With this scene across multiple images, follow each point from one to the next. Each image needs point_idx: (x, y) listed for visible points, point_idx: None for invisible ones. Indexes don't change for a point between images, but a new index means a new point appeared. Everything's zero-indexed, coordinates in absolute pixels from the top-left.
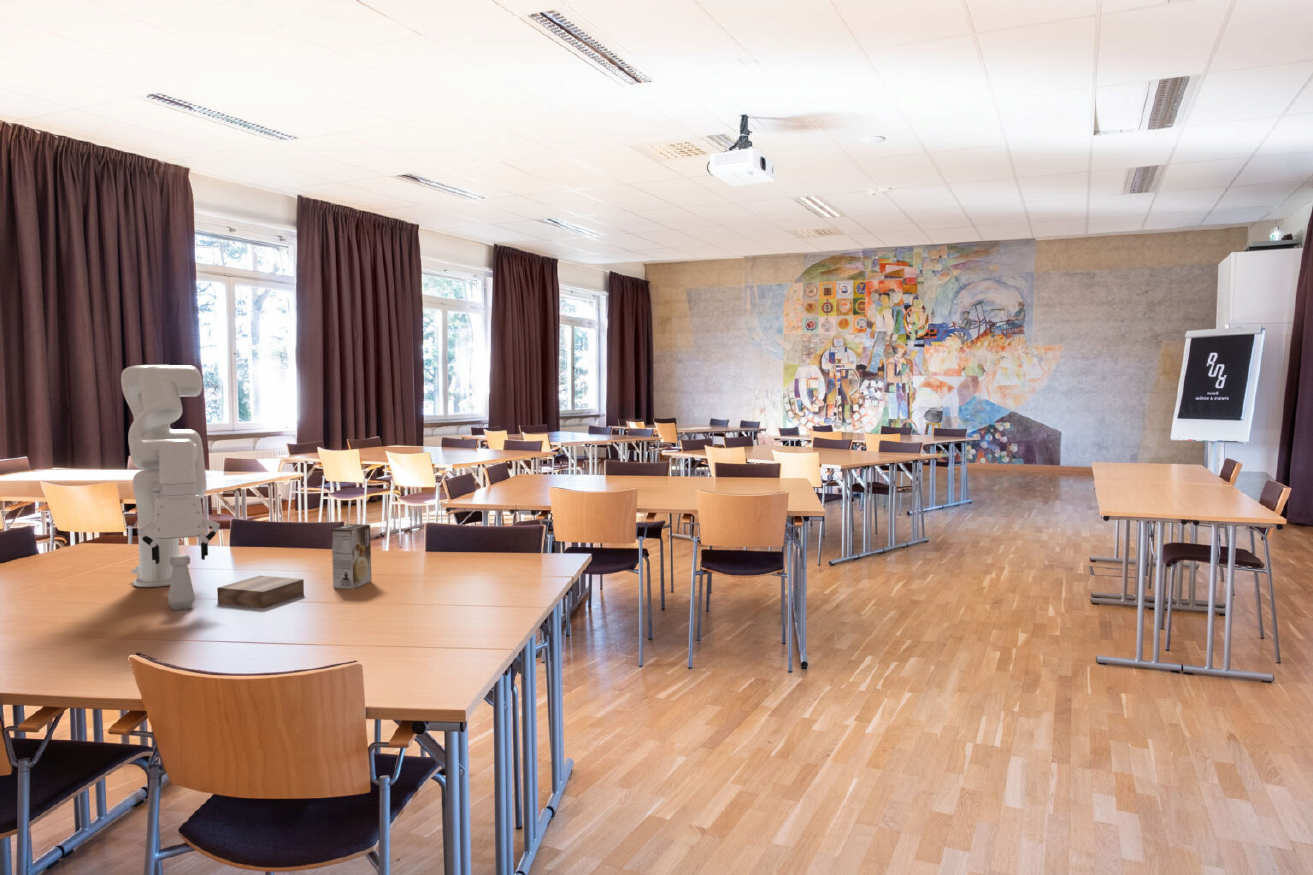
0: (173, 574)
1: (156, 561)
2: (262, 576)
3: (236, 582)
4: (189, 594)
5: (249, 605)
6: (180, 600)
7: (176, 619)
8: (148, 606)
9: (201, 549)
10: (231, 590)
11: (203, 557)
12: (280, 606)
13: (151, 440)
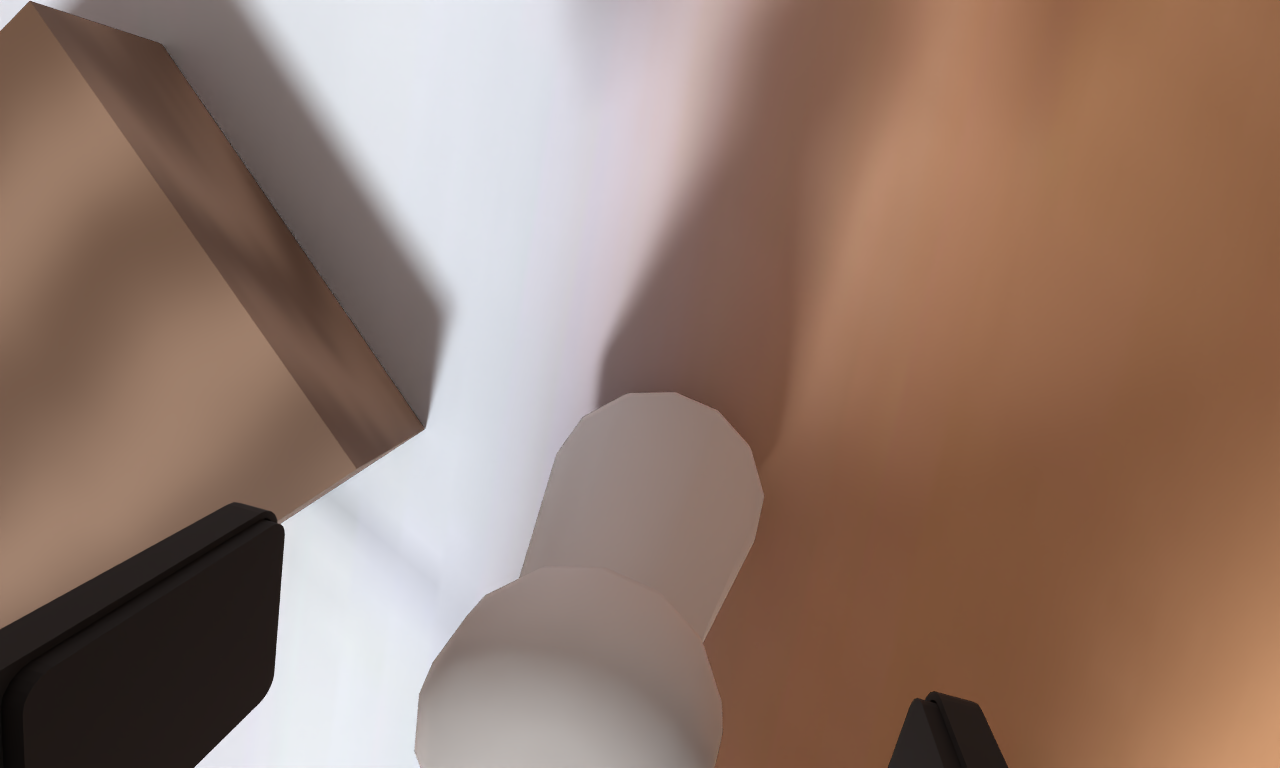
0: (699, 585)
1: (966, 718)
2: None
3: None
4: (596, 423)
5: (238, 164)
6: (680, 399)
7: (775, 93)
8: (855, 682)
9: (133, 608)
10: (269, 327)
11: (232, 513)
12: None
13: None
